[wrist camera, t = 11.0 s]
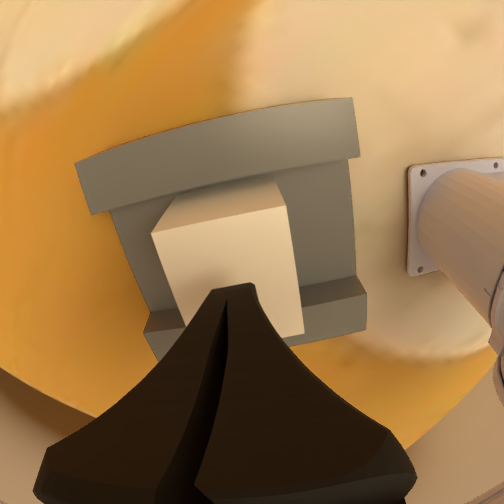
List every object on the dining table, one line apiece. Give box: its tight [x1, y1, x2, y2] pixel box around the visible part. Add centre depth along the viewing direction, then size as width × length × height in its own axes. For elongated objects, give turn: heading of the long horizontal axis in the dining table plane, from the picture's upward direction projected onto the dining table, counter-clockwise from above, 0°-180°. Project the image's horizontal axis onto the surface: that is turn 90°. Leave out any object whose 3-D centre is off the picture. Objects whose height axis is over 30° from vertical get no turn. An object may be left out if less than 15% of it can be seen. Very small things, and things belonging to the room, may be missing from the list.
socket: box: [74, 98, 367, 362], centre depth 17 cm, size 13×13×4 cm
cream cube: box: [151, 175, 305, 338], centre depth 15 cm, size 5×6×6 cm
